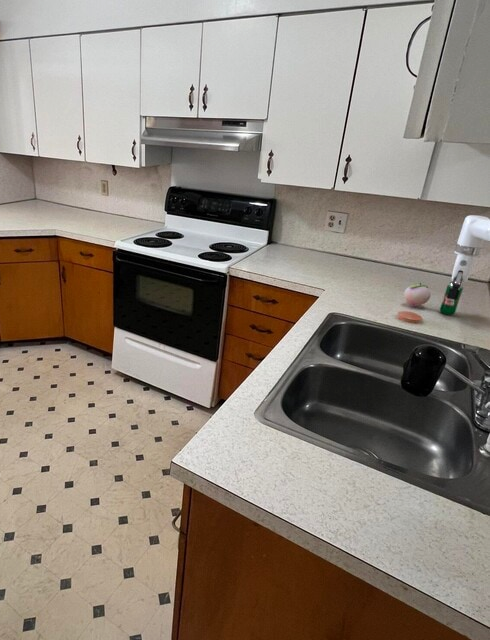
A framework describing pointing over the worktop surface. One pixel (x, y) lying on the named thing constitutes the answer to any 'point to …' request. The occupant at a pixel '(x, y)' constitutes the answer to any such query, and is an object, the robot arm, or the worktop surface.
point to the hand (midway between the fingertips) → (452, 296)
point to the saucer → (409, 317)
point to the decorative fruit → (417, 294)
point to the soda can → (450, 301)
